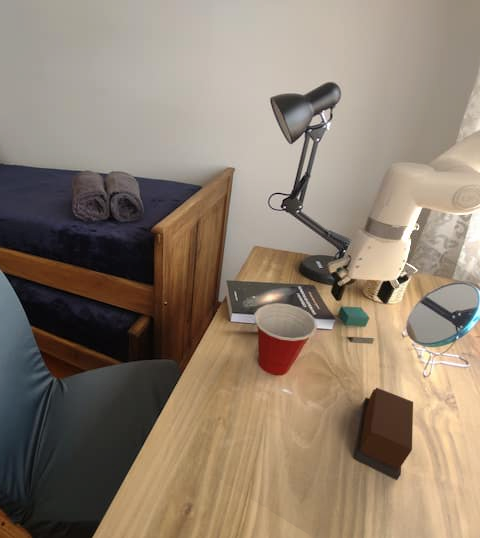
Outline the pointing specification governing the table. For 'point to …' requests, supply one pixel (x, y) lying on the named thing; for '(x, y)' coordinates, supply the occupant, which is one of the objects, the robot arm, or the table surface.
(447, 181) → the robot arm
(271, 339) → the plastic cup
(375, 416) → the chocolate bar chunk
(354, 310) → the teal block
